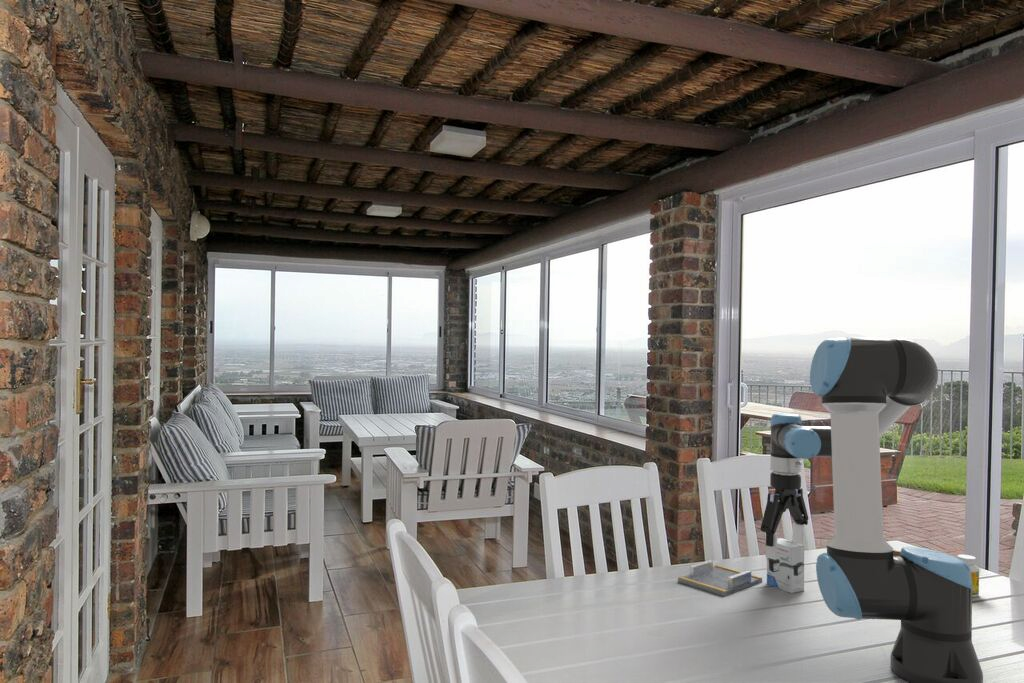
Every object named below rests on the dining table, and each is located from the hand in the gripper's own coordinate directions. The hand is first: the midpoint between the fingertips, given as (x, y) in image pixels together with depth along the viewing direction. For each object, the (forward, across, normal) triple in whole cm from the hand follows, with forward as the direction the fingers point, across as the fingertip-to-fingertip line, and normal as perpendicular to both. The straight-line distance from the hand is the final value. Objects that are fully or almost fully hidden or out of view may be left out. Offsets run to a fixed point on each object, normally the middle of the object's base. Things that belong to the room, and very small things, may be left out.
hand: (784, 553), depth 184 cm
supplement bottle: (+9, +32, -32) cm, 46 cm away
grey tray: (+9, -10, +13) cm, 19 cm away
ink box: (+9, 0, 0) cm, 9 cm away
